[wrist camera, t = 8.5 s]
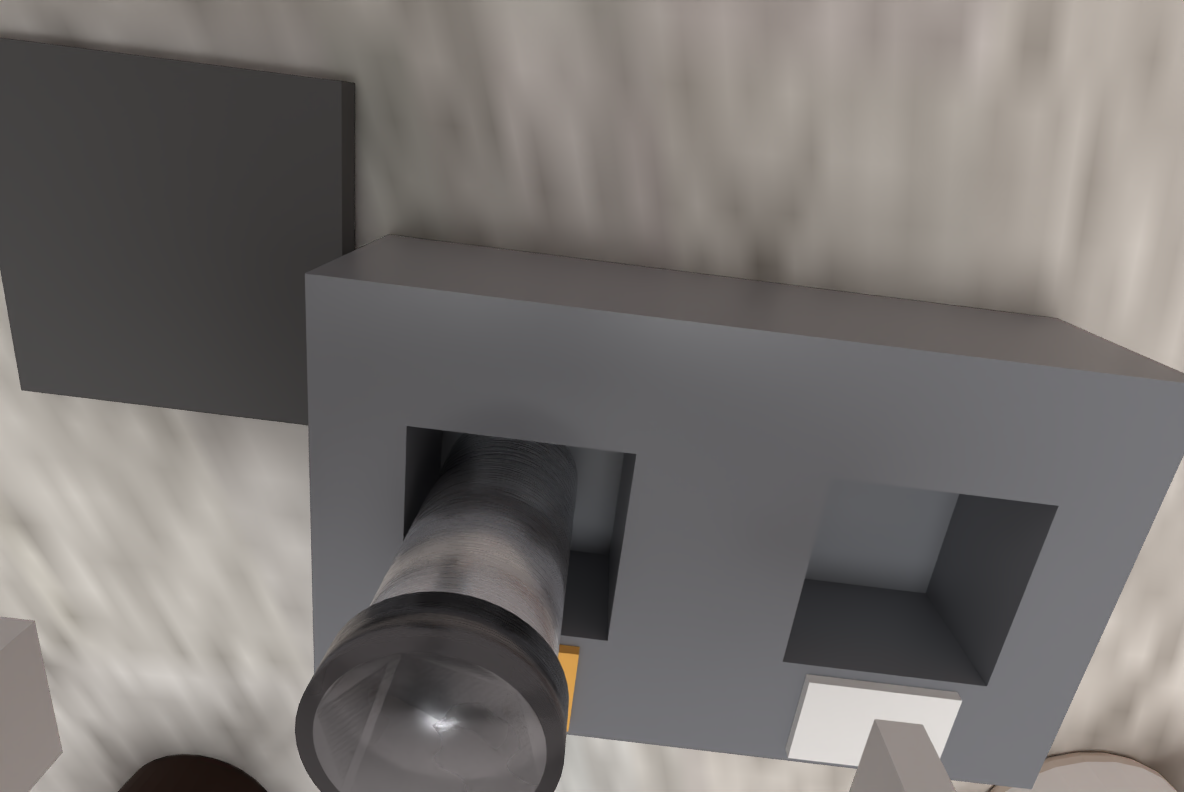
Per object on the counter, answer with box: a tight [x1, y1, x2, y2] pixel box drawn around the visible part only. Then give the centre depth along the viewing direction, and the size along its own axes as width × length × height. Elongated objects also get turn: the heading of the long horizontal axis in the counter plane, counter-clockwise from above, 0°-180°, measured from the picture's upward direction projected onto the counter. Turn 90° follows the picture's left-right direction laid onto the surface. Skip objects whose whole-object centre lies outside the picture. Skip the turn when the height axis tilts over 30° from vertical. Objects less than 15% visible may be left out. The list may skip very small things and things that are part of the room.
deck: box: [0, 38, 355, 425], centre depth 21 cm, size 10×10×1 cm
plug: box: [295, 433, 578, 792], centre depth 17 cm, size 5×5×10 cm
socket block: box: [305, 235, 1184, 789], centre depth 20 cm, size 12×20×6 cm, turn 83°
